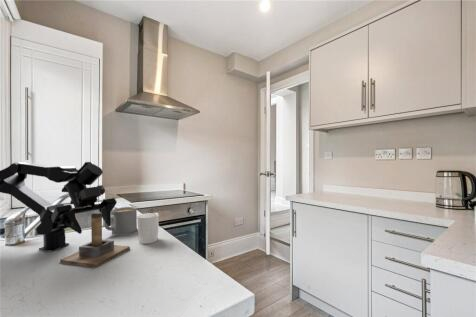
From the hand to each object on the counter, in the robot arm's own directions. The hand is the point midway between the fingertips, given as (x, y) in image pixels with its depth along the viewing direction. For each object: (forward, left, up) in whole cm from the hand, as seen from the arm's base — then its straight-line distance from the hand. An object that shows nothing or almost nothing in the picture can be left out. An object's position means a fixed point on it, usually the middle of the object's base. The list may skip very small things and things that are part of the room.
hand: (96, 228), depth 75 cm
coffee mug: (-11, +22, -9) cm, 26 cm away
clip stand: (0, 0, -9) cm, 9 cm away
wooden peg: (0, 0, -8) cm, 8 cm away
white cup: (+8, +16, -9) cm, 20 cm away
